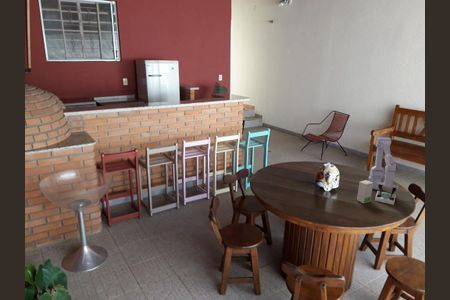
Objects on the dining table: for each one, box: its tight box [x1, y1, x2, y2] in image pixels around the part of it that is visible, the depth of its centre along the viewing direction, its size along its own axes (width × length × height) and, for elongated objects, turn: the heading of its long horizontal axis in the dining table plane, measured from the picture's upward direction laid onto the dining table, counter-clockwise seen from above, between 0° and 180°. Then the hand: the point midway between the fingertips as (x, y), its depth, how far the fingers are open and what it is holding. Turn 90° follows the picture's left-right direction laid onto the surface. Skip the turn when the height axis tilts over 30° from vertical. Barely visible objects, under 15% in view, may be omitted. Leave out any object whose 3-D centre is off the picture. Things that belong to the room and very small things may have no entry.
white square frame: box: [374, 190, 396, 206], centre depth 242 cm, size 13×13×3 cm
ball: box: [381, 192, 390, 199], centre depth 241 cm, size 5×5×5 cm
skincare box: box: [356, 179, 373, 204], centre depth 237 cm, size 8×7×16 cm
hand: (385, 195), depth 241 cm, fingers open, 7 cm apart
